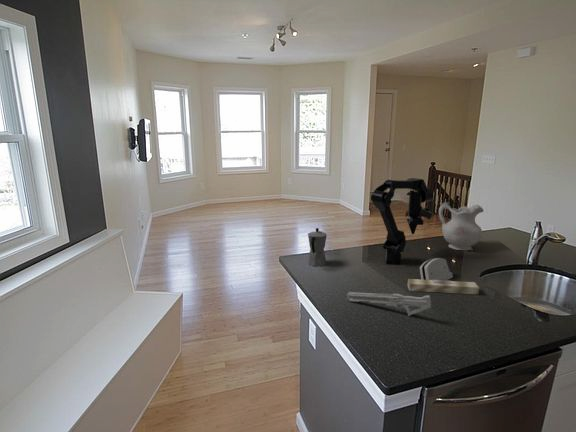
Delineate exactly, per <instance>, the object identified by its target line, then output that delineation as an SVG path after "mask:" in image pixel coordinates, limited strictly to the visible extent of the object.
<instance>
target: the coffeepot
mask: <svg viewBox="0 0 576 432" xmlns="http://www.w3.org/2000/svg"><path fill="white" fill-rule="evenodd" d="M307 236H308V244H309V248H310V249H309V252H308V253H309V254H308V258H307V260H308V261H307V262H308V265H309V266H311V265H312V266H311V267H315V266H320V267H324V266H325V265H327V260H326V254H325V248H326V243H327V236H328V235H327V233H326V232H324V231H320V228H319V227H315V231H311V232H307ZM323 265H324V266H323Z"/></svg>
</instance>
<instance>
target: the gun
mask: <svg viewBox="0 0 576 432" xmlns="http://www.w3.org/2000/svg"><path fill="white" fill-rule="evenodd" d="M346 297H347V300H349V302H352V303H354V302H356V303H360V302H369V303H371V304H384V305H385V306H387V307H388V306H389V307H395V308H398V309H405V310H406V312H407V316H408V317H410V316H412V315H414V314H418V313H420V312H423V311H424V310H427V309H431V308H432V302H431V296H430V295H429V294H427V295H423V296H422V297H421V296H411V295H403V294H400V293H376V292H374V293H371V292H370V293H369V292H354V291H353V292H352V291H349V292H348V293H347V294H346ZM410 306H411V307H417V308H414V309H411V308H410Z"/></svg>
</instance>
